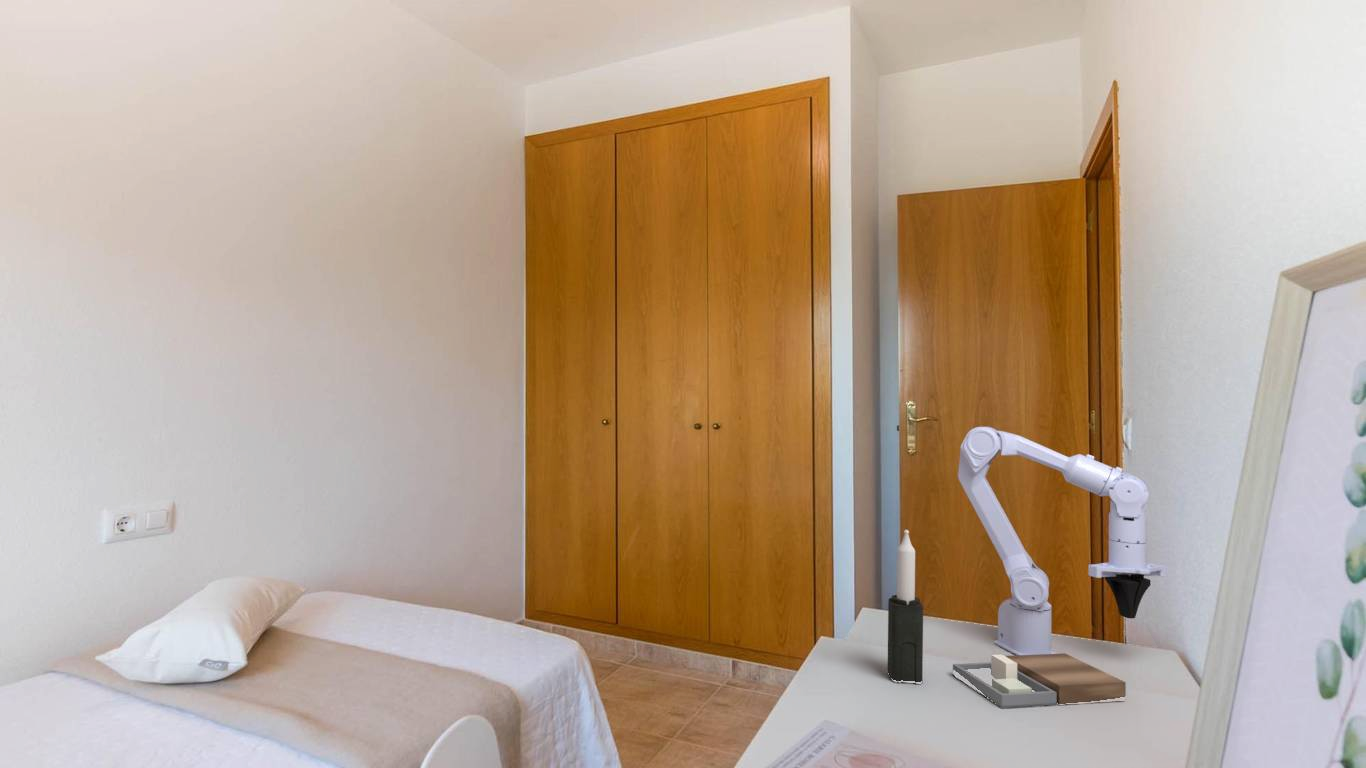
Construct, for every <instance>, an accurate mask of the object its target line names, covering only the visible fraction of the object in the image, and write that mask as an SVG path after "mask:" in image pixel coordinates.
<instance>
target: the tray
mask: <svg viewBox="0 0 1366 768" xmlns="http://www.w3.org/2000/svg"><path fill="white" fill-rule="evenodd" d="M980 668H990V669H991V661H990V662H989V661H988V662H974V663H973V662H972V663H971V662H968V663H967V662H966V663H965V662H964V663H952V671H953V670H955V671H956V672H958V673H959V674H960V675H961V676H963V677H964V678H965V679H967V680H968V681H969V682H970V683H971V684H972V685H974V686H975V687H976V688H977V689H978V690H980V691H981V692H982V693H983V694H984V695H985V696H986V697H988V698H989V699H990V700H992V701H993V702H994V703H996V704H997V705H998V706H997V705H996V704H995V705H996V706H997V707H999V706H1000V707H1001V708H1000V707H999V708H1000V709H1002V708H1006V709H1018V707H1023V708H1030V707H1029V706H1040V707H1045V706H1044V705H1057V706H1058V704H1057V692H1055V691H1053V690H1051V689H1050V688H1048V687H1046V686H1044V685H1042V684H1041V683H1039V682H1037V681H1035V680H1034V679H1032V678H1030V677H1028V676H1026V675H1025V674H1023V673H1021V672H1019V671H1018V670H1017V679H1018V680H1019V681H1021V682H1022V683H1024V684H1025V685H1027V686H1029V687H1030V688H1032V690H1034V691H1035V692H1024V693H1005V694H1003V693H1001V692H1000V691H998V690H996V689H995V688H993V687H992V686H990V685H989V684H987V683H985V682H984V681H982V680H981V679H979V678H978V677H976V676H974V675H973V674H971V673H970V672H968V671H966V670H968V669H980ZM990 700H989V701H990ZM993 702H992V703H993ZM994 703H993V704H994Z"/></svg>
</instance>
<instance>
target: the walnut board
mask: <svg viewBox="0 0 1366 768" xmlns="http://www.w3.org/2000/svg"><path fill="white" fill-rule="evenodd" d="M1005 656H1006V657H1007V658H1009V659H1011V660H1012V661H1014V662H1016V663H1017V670H1018V671H1019V672H1021V673H1023V674H1025V675H1026V676H1028V677H1030V678H1032V679H1034V680H1035V681H1037V682H1039V683H1041V684H1042V685H1044V686H1046V687H1048V688H1050V689H1051V690H1053V691H1055V692H1057V703H1058V704H1066V703H1078V702H1091V701H1100V700H1107V699H1115V698H1120V697H1125V696H1126V695H1127V694H1126V692H1127V691H1126V690H1127V689H1126V682H1127V681H1123V680H1122V679H1119V678H1118V677H1116V676H1114V675H1111V674H1109V673H1107V672H1105V671H1103V670H1100V669H1099V668H1097V667H1094V666H1092V665H1090V664H1088V663H1086V662H1083V661H1082V660H1080V659H1077V658H1075V657H1073V656H1072V655H1069V654H1068V653H1065V652H1064V653H1058V654H1038V655H1016V654H1014V655H1005ZM1058 704H1057V705H1058Z"/></svg>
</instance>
